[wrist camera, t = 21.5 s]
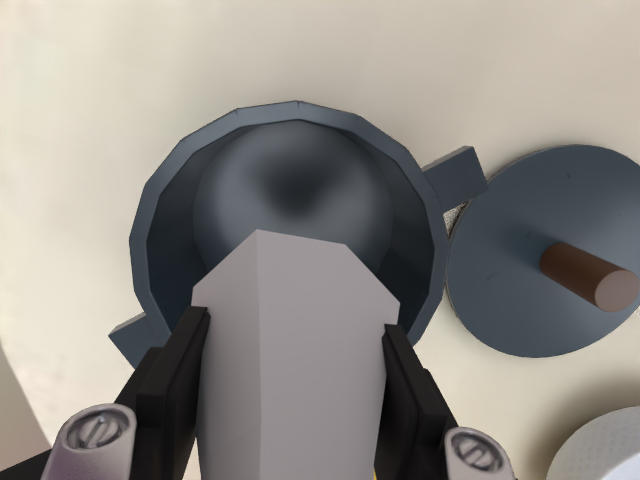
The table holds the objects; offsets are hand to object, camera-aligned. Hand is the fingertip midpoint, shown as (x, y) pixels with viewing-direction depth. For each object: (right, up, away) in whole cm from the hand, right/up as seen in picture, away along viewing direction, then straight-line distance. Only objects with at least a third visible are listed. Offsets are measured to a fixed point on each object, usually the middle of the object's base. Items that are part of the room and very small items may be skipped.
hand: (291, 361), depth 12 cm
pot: (-1, +5, +16) cm, 17 cm away
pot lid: (+18, +2, +17) cm, 25 cm away
